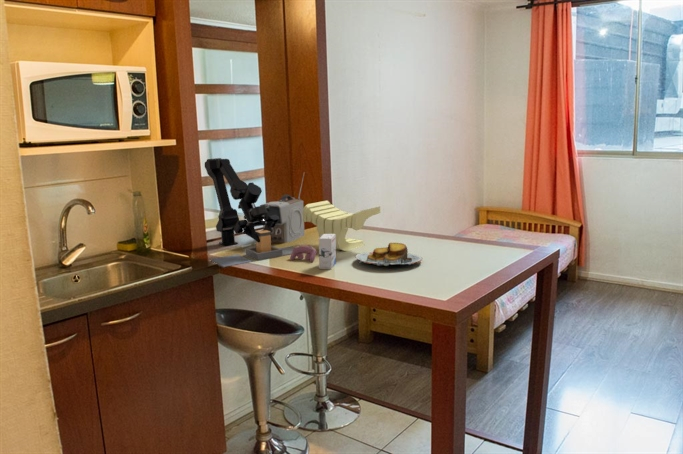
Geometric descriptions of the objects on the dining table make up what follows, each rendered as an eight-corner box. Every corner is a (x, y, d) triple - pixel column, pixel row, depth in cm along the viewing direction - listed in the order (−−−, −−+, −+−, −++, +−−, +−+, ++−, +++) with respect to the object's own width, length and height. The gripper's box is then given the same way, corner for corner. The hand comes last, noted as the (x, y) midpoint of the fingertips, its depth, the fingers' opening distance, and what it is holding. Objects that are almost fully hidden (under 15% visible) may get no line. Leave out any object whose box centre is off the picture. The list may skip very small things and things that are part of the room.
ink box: (324, 263, 221) (323, 233, 218) (337, 263, 220) (336, 233, 217) (318, 269, 213) (317, 238, 210) (332, 269, 212) (331, 238, 209)
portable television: (260, 244, 255) (257, 177, 249) (285, 233, 276) (283, 171, 270) (284, 246, 250) (281, 177, 244) (308, 235, 271) (306, 171, 265)
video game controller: (316, 264, 225) (318, 247, 227) (312, 262, 221) (314, 244, 223) (293, 262, 228) (295, 245, 230) (288, 260, 224) (291, 243, 226)
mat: (209, 260, 228) (209, 259, 228) (237, 255, 235) (237, 254, 235) (224, 267, 217) (223, 266, 217) (252, 262, 224) (252, 261, 224)
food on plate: (343, 261, 224) (343, 244, 223) (394, 252, 237) (394, 236, 236) (381, 275, 203) (381, 257, 202) (435, 265, 216) (435, 248, 214)
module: (256, 255, 234) (255, 231, 232) (266, 253, 236) (265, 229, 234) (261, 257, 230) (260, 233, 228) (271, 255, 232) (270, 231, 230)
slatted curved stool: (303, 245, 251) (302, 205, 247) (328, 238, 263) (327, 200, 259) (356, 255, 231) (355, 212, 228) (380, 247, 243) (380, 206, 240)
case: (245, 256, 234) (245, 248, 234) (292, 248, 246) (291, 241, 246) (258, 261, 226) (257, 253, 225) (305, 252, 238) (305, 245, 237)
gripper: (235, 200, 226) (251, 232, 219) (275, 195, 237) (291, 225, 231) (227, 217, 233) (242, 248, 227) (266, 212, 245) (282, 241, 238)
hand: (265, 240), depth 231 cm, fingers open, 5 cm apart
